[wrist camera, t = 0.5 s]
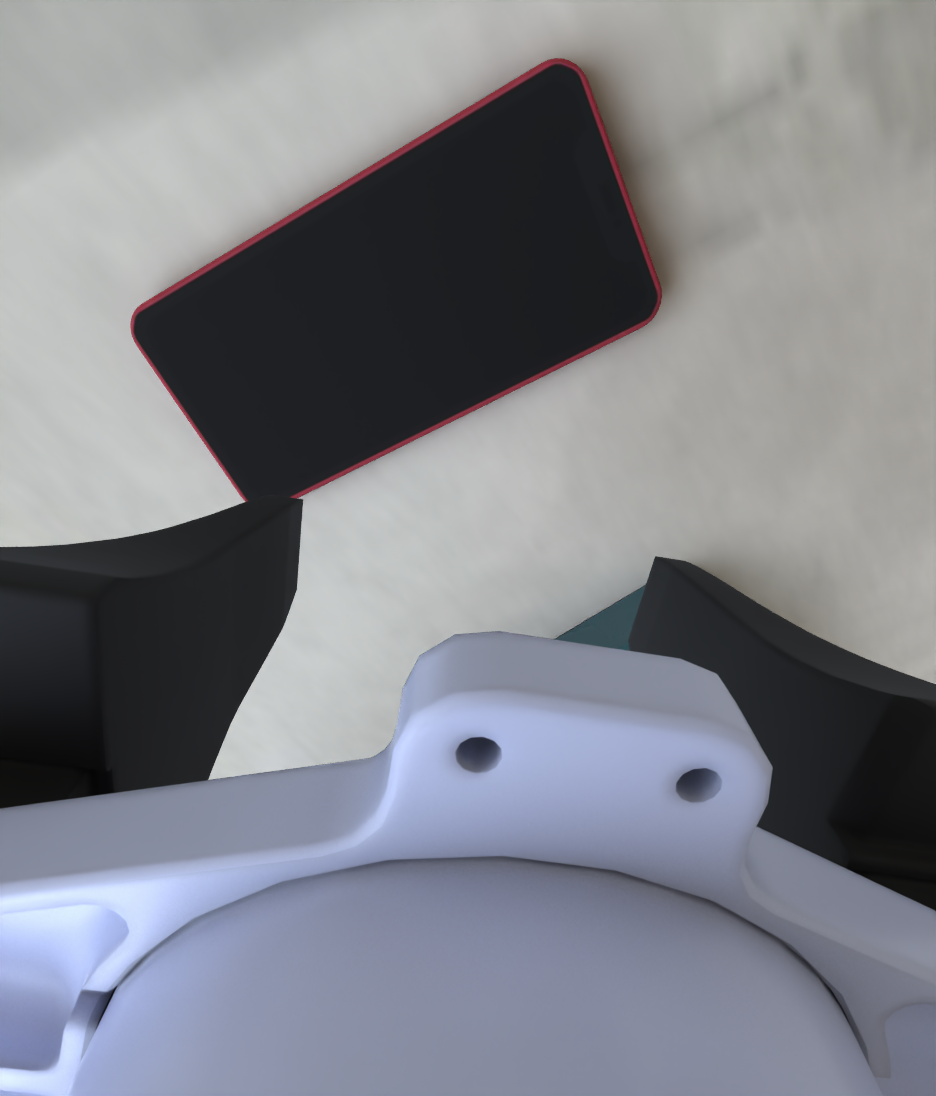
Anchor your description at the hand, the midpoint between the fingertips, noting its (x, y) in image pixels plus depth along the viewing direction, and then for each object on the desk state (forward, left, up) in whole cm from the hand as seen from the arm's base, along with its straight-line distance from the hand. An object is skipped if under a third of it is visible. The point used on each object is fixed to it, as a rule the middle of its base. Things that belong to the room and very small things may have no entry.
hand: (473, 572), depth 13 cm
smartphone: (+4, +3, -10) cm, 11 cm away
